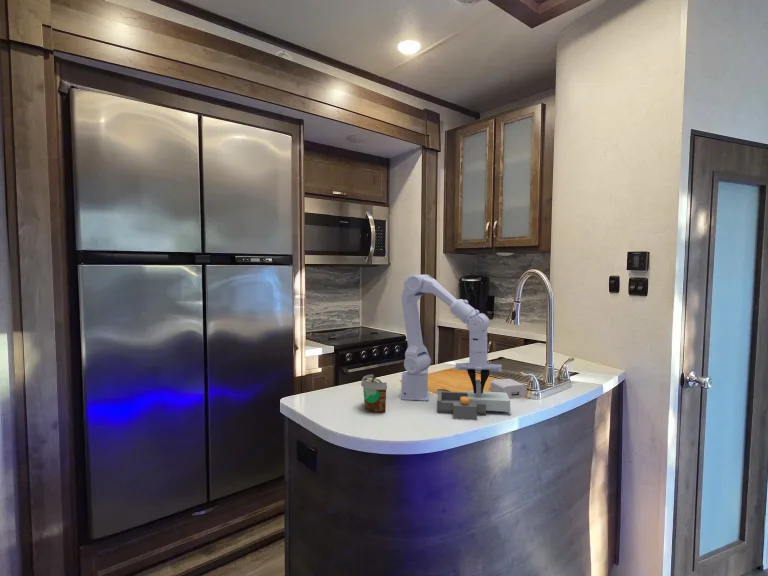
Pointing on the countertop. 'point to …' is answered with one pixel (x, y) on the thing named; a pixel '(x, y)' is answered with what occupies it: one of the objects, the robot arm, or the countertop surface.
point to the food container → (374, 394)
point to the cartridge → (490, 399)
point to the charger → (509, 388)
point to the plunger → (464, 400)
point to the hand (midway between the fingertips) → (478, 392)
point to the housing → (459, 406)
